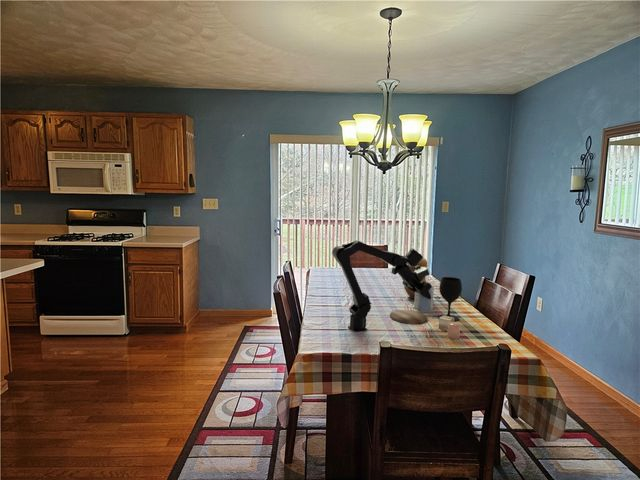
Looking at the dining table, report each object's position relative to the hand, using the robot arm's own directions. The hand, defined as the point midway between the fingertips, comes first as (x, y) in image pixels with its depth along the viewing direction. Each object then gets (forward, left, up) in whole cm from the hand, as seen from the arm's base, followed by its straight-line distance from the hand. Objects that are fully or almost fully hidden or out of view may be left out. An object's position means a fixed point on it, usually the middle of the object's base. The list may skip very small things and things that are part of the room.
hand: (427, 296), depth 181 cm
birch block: (+5, -7, -14) cm, 16 cm away
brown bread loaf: (-1, +12, -13) cm, 18 cm away
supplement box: (+17, +21, -14) cm, 30 cm away
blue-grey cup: (-1, 0, -7) cm, 7 cm away
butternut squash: (+27, +39, -14) cm, 49 cm away
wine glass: (+17, +3, -14) cm, 22 cm away
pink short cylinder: (-1, -17, -13) cm, 22 cm away
